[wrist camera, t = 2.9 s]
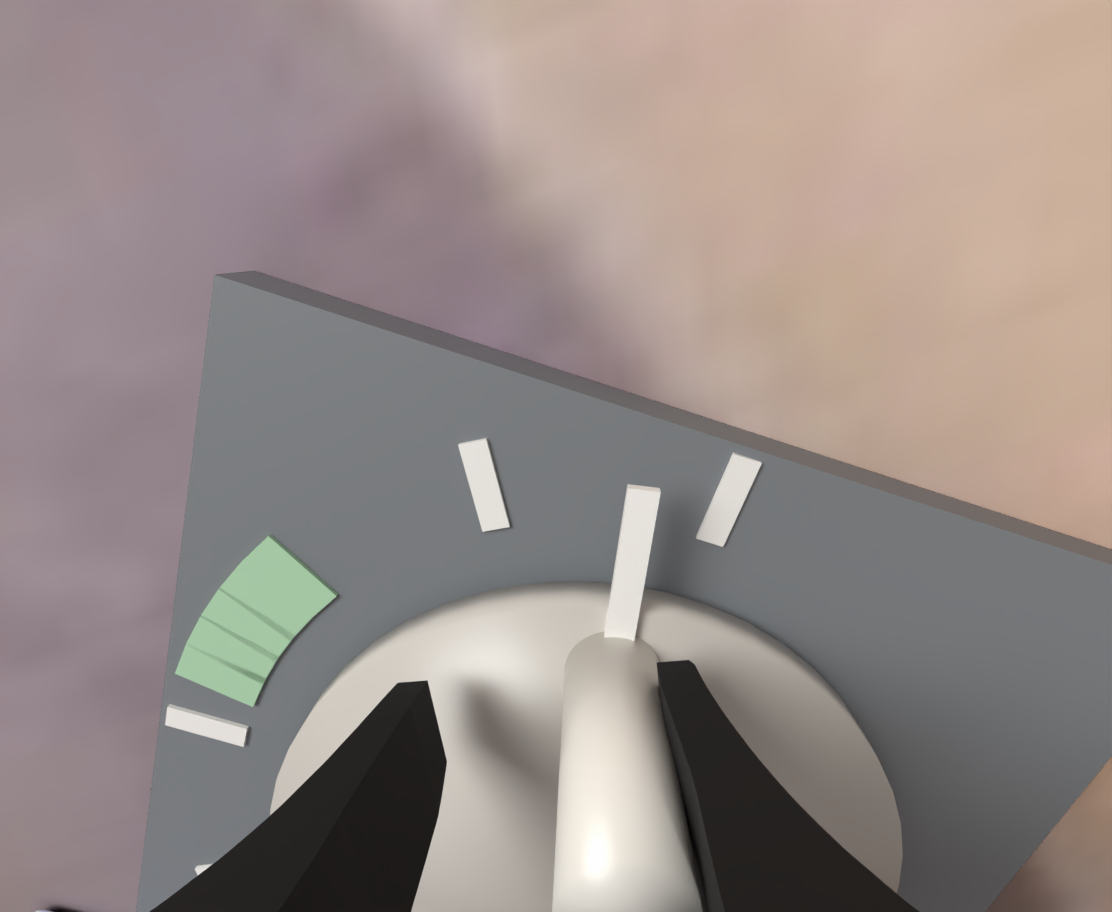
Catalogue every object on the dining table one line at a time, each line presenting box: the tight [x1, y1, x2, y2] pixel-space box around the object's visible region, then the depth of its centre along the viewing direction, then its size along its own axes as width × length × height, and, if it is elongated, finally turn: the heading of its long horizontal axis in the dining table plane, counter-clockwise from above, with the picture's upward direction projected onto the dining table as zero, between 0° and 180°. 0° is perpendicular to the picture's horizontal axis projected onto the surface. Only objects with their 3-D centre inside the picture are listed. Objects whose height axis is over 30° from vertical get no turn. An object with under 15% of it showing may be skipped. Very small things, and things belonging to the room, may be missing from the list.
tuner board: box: [136, 271, 1112, 912], centre depth 17 cm, size 22×22×2 cm
